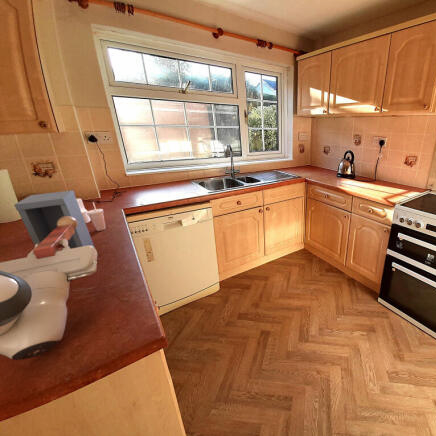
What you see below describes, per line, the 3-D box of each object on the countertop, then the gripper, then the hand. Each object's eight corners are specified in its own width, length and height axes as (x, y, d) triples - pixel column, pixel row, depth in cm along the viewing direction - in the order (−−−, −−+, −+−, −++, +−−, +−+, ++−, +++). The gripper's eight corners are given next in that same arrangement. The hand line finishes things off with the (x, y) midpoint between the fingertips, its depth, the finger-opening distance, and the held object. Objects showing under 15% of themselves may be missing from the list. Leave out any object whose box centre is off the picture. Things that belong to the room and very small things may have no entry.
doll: (58, 256, 65) (51, 239, 63) (34, 261, 63) (25, 244, 61) (81, 226, 84) (76, 212, 82) (63, 229, 82) (57, 215, 80)
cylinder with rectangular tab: (81, 225, 127) (73, 203, 122) (64, 226, 127) (55, 204, 122) (94, 219, 135) (87, 198, 130) (78, 219, 135) (70, 198, 130)
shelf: (89, 265, 90) (63, 198, 81) (47, 274, 85) (13, 204, 76) (96, 251, 100) (73, 190, 91) (59, 258, 95) (30, 195, 86)
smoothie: (111, 228, 122) (102, 201, 117) (96, 232, 117) (86, 205, 112) (105, 225, 126) (96, 199, 120) (91, 230, 121) (81, 203, 116)
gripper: (91, 268, 63) (93, 227, 70) (-21, 294, 54) (-6, 245, 62) (101, 279, 67) (101, 240, 75) (-2, 305, 59) (10, 258, 66)
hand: (52, 242), depth 68 cm, fingers closed on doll, 3 cm apart
